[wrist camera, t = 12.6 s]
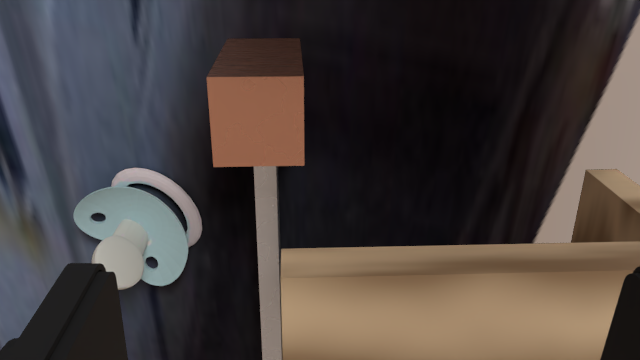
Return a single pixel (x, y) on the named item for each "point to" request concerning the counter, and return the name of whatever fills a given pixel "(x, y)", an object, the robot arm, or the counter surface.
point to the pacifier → (140, 228)
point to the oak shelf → (468, 292)
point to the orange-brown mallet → (260, 146)
